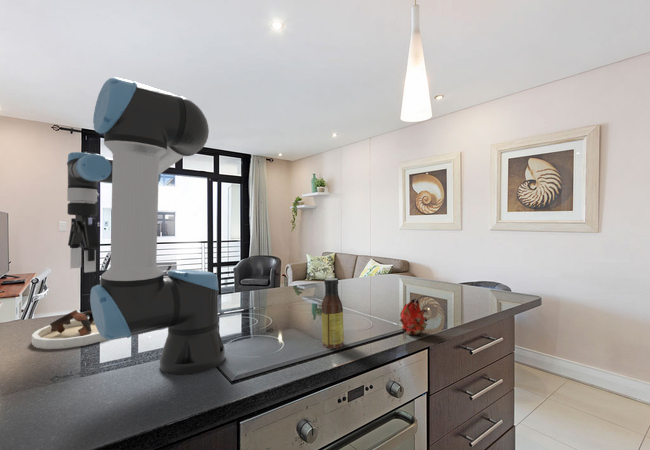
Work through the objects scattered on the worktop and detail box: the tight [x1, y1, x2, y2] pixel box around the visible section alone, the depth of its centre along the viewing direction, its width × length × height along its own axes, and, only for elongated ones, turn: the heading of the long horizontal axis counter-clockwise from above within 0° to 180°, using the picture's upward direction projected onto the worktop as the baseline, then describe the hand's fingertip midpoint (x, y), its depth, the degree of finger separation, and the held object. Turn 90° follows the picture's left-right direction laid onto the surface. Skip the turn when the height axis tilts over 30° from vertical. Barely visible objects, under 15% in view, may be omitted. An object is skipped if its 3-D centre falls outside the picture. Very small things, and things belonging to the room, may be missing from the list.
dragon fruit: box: [399, 298, 429, 336], centre depth 101 cm, size 8×8×12 cm
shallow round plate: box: [31, 316, 107, 350], centre depth 99 cm, size 22×22×3 cm
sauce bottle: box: [321, 277, 345, 349], centre depth 91 cm, size 7×6×20 cm
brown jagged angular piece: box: [49, 309, 94, 336], centre depth 99 cm, size 12×9×8 cm
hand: (82, 269), depth 99 cm, fingers open, 13 cm apart
